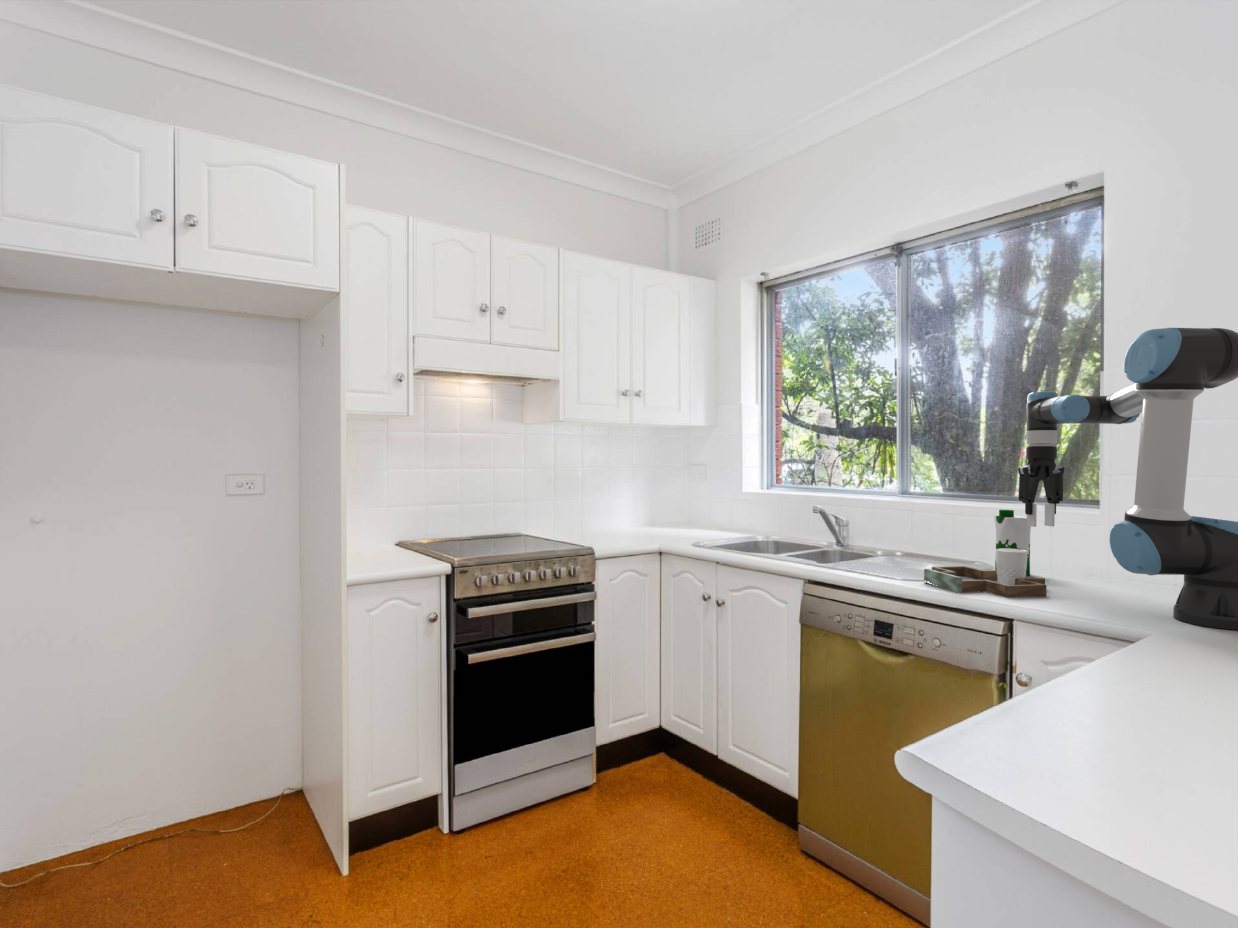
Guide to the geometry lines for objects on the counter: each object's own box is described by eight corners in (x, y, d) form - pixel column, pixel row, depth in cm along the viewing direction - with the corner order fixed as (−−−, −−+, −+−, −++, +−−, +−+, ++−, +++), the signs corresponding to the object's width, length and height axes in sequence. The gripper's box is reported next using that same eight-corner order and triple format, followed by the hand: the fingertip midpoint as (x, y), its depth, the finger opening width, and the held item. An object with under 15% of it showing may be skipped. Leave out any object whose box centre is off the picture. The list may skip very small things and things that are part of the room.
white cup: (1018, 582, 196) (1019, 548, 196) (1032, 587, 188) (1033, 552, 188) (990, 582, 197) (990, 548, 197) (1003, 587, 189) (1003, 551, 189)
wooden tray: (1070, 595, 178) (1070, 580, 178) (979, 598, 173) (979, 583, 173) (985, 574, 208) (986, 562, 208) (906, 577, 203) (907, 564, 203)
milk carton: (990, 571, 215) (991, 508, 215) (1019, 571, 215) (1019, 509, 215) (1005, 576, 207) (1006, 511, 206) (1035, 576, 206) (1036, 511, 206)
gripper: (1058, 446, 199) (1056, 524, 199) (1004, 445, 196) (1002, 525, 196) (1079, 445, 192) (1078, 526, 192) (1024, 445, 188) (1023, 527, 189)
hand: (1040, 525), depth 194 cm, fingers open, 5 cm apart
